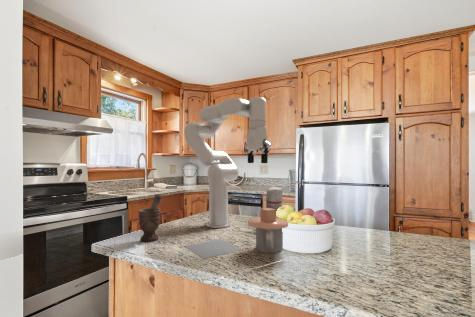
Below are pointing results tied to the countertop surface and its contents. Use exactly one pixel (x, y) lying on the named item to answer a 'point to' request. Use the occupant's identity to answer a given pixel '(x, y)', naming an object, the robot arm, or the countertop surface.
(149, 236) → the mortar and pestle
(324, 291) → the countertop surface
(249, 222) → the lid
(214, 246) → the mat
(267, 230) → the coffee mug
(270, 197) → the spray can
